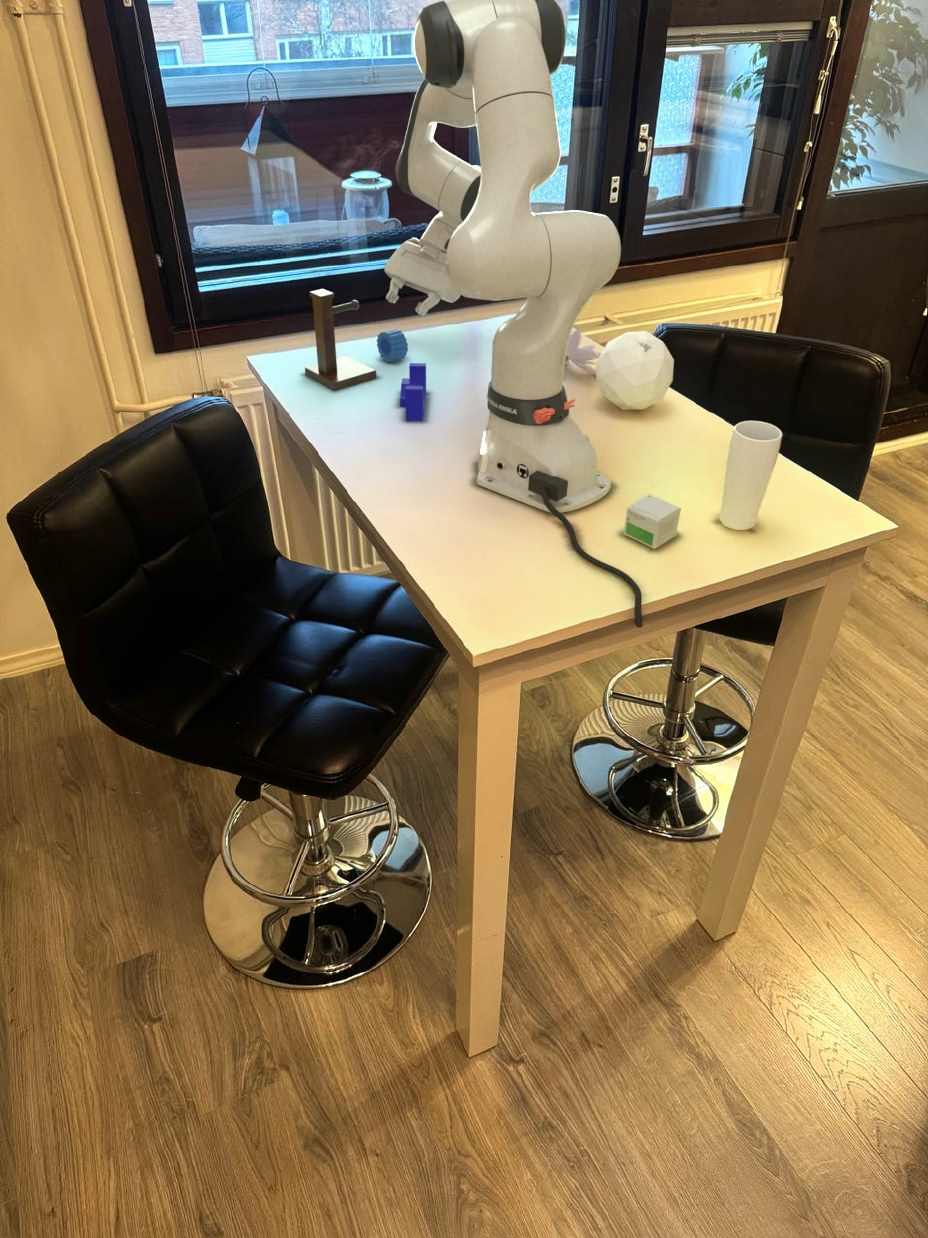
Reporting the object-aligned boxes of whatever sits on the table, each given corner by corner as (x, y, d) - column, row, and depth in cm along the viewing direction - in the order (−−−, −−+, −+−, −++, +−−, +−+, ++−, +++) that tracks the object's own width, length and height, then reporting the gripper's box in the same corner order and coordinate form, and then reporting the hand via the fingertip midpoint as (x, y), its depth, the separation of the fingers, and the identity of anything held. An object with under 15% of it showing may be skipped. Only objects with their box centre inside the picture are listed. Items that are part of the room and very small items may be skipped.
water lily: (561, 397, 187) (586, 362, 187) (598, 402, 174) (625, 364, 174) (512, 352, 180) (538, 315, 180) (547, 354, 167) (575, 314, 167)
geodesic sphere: (700, 392, 159) (684, 311, 158) (629, 403, 155) (612, 320, 154) (657, 413, 173) (642, 339, 173) (591, 424, 169) (575, 348, 168)
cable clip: (402, 393, 171) (401, 362, 167) (426, 393, 171) (426, 363, 167) (397, 420, 161) (396, 388, 158) (422, 421, 161) (422, 389, 158)
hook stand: (347, 362, 183) (342, 277, 172) (377, 377, 177) (373, 290, 167) (305, 374, 177) (297, 287, 167) (334, 390, 171) (327, 301, 161)
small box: (622, 535, 132) (626, 505, 129) (645, 521, 135) (650, 492, 132) (654, 550, 129) (659, 521, 126) (677, 536, 132) (682, 506, 129)
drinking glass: (726, 506, 139) (746, 415, 130) (767, 521, 136) (791, 429, 127) (705, 523, 135) (725, 431, 126) (747, 539, 131) (770, 445, 122)
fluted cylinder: (392, 356, 187) (388, 327, 184) (409, 359, 183) (405, 329, 180) (379, 360, 185) (374, 330, 182) (396, 363, 181) (392, 332, 178)
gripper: (400, 226, 182) (363, 284, 183) (467, 248, 170) (427, 311, 170) (418, 245, 187) (382, 302, 188) (484, 268, 175) (445, 329, 176)
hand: (404, 307), depth 179 cm, fingers open, 8 cm apart
